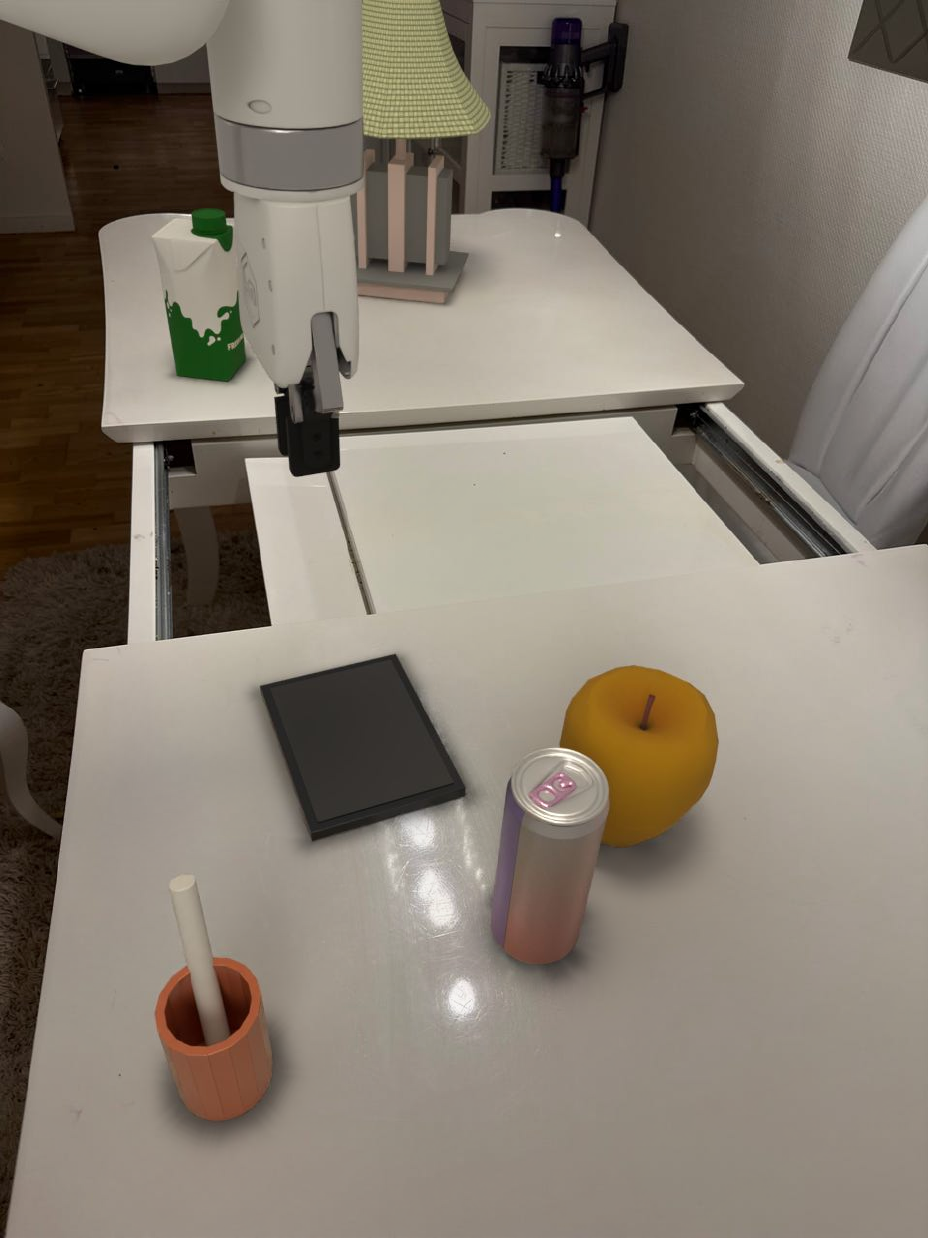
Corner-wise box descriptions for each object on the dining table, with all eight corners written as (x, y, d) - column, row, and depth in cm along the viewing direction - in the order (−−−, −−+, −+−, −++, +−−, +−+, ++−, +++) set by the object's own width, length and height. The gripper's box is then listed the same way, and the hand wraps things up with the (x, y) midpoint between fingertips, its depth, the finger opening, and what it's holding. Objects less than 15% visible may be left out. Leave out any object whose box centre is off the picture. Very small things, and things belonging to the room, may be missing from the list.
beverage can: (471, 923, 62) (485, 777, 53) (534, 875, 65) (558, 729, 56) (533, 988, 59) (561, 845, 49) (596, 933, 62) (634, 789, 52)
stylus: (213, 1080, 53) (169, 893, 48) (210, 1062, 54) (167, 878, 49) (238, 1071, 53) (197, 885, 48) (234, 1053, 54) (193, 870, 50)
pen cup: (186, 1136, 51) (163, 1072, 46) (171, 1046, 55) (148, 976, 50) (283, 1099, 53) (271, 1033, 48) (261, 1014, 57) (248, 944, 52)
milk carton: (233, 385, 120) (214, 226, 108) (166, 377, 121) (139, 218, 108) (254, 357, 127) (239, 204, 114) (191, 350, 128) (169, 197, 115)
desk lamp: (489, 260, 161) (506, -18, 135) (465, 323, 140) (481, 7, 114) (344, 246, 163) (335, -30, 138) (299, 306, 142) (278, -9, 116)
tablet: (311, 841, 67) (310, 832, 66) (260, 694, 78) (259, 684, 77) (465, 796, 71) (466, 786, 70) (395, 661, 82) (395, 652, 81)
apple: (661, 907, 64) (701, 786, 56) (521, 839, 68) (540, 716, 59) (710, 799, 71) (752, 678, 63) (582, 744, 75) (605, 623, 67)
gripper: (189, 119, 53) (225, 414, 64) (256, 201, 42) (284, 538, 53) (318, 115, 55) (329, 399, 67) (412, 191, 44) (406, 516, 56)
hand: (309, 459), depth 60 cm, fingers closed
